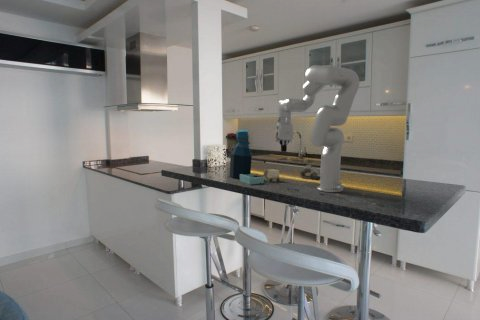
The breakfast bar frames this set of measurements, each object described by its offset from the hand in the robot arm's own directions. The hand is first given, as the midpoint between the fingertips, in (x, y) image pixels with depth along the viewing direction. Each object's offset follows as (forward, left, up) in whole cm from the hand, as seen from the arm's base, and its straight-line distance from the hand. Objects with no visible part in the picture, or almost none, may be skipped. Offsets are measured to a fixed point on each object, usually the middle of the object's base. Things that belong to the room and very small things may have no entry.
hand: (283, 151), depth 183 cm
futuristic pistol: (-6, -18, -17) cm, 25 cm away
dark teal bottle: (+21, +18, -17) cm, 33 cm away
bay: (0, +21, -17) cm, 27 cm away
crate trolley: (0, +8, -17) cm, 19 cm away
